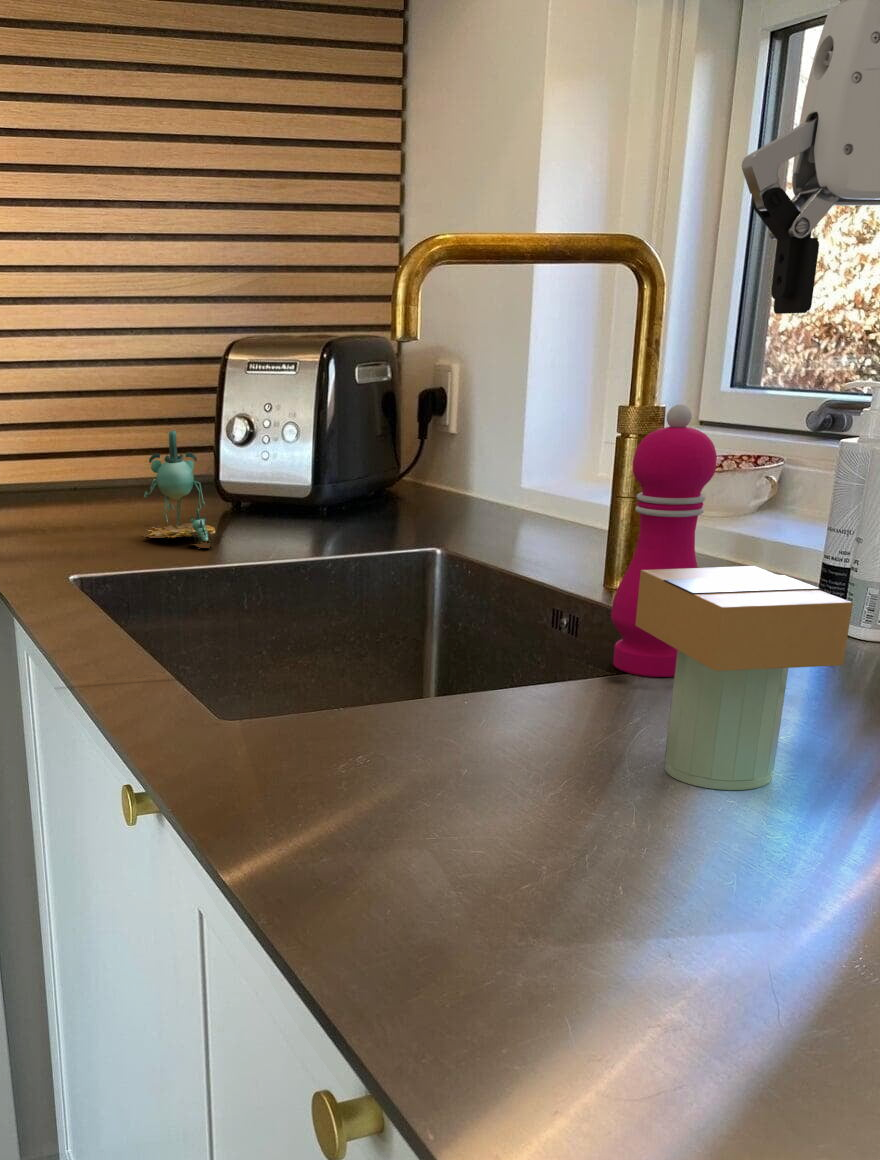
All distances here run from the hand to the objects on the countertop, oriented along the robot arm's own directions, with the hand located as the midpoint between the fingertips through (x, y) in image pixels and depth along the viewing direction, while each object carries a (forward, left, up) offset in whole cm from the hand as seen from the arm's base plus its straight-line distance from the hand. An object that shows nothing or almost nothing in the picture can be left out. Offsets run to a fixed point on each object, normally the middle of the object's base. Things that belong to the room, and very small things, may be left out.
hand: (867, 311), depth 73 cm
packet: (+10, +8, -18) cm, 22 cm away
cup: (+10, +8, -26) cm, 29 cm away
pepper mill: (+4, -16, -26) cm, 31 cm away
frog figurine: (+39, -86, -26) cm, 98 cm away
